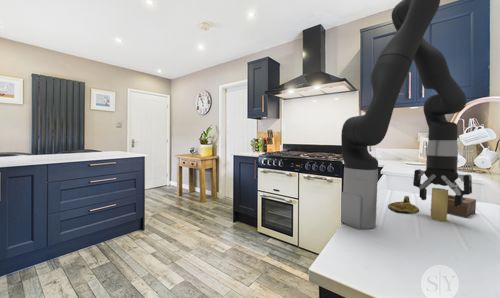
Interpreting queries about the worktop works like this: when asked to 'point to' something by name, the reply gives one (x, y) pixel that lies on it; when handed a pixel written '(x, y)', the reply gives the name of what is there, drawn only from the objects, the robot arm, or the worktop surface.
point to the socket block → (461, 207)
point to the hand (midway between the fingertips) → (439, 203)
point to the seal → (403, 207)
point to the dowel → (439, 204)
